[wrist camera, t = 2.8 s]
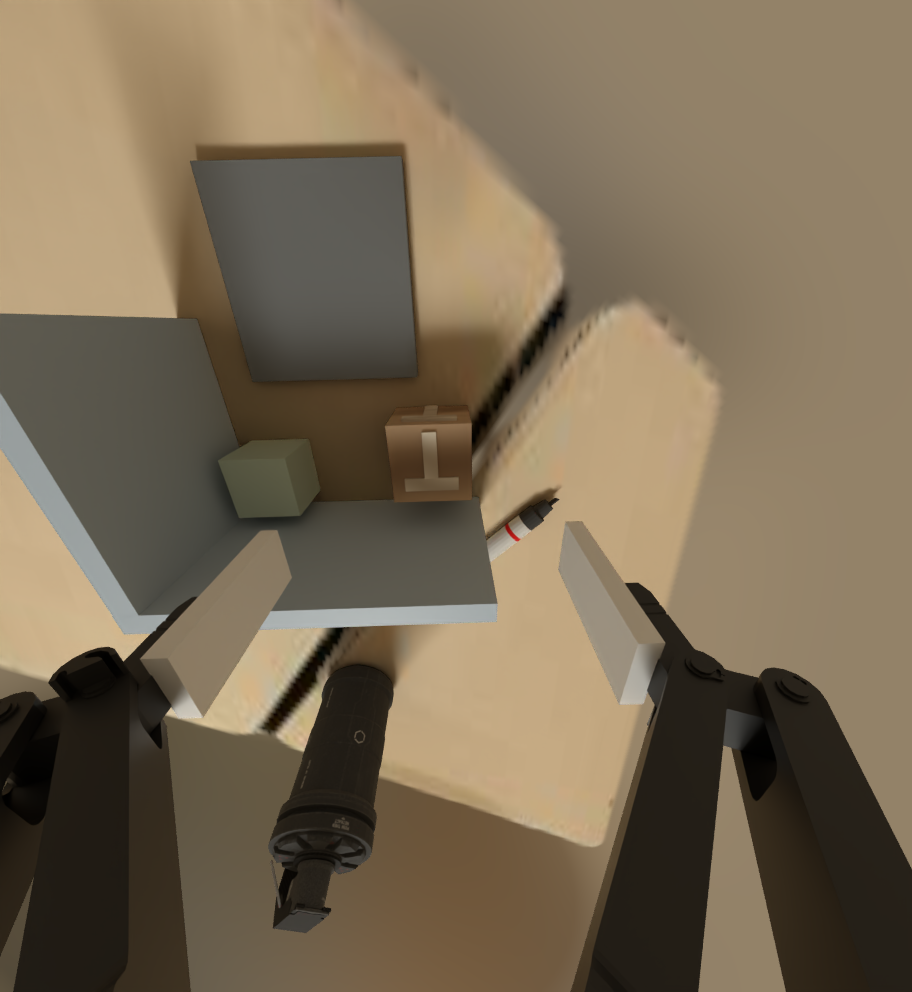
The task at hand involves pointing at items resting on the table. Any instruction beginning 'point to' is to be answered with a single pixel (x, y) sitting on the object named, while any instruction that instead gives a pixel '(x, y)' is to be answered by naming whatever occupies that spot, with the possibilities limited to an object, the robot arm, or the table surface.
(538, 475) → the table surface
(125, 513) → the screen
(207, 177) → the mat
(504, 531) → the marker
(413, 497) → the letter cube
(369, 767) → the grenade
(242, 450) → the plain cube
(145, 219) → the table surface
